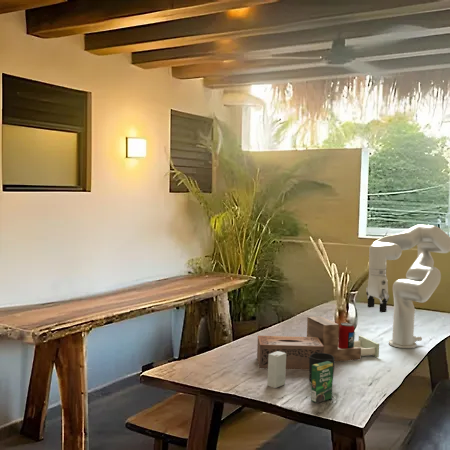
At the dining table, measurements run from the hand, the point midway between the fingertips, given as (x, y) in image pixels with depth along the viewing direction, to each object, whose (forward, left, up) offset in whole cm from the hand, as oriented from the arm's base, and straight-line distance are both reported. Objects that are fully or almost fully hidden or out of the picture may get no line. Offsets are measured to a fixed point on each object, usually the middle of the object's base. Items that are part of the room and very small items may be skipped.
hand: (376, 309), depth 261 cm
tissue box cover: (+46, +6, -20) cm, 50 cm away
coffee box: (+53, +47, -20) cm, 74 cm away
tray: (+12, 0, -19) cm, 22 cm away
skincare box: (+62, +29, -20) cm, 71 cm away
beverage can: (+15, 0, -18) cm, 23 cm away
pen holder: (+44, +30, -20) cm, 57 cm away
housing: (+22, 0, -20) cm, 29 cm away
